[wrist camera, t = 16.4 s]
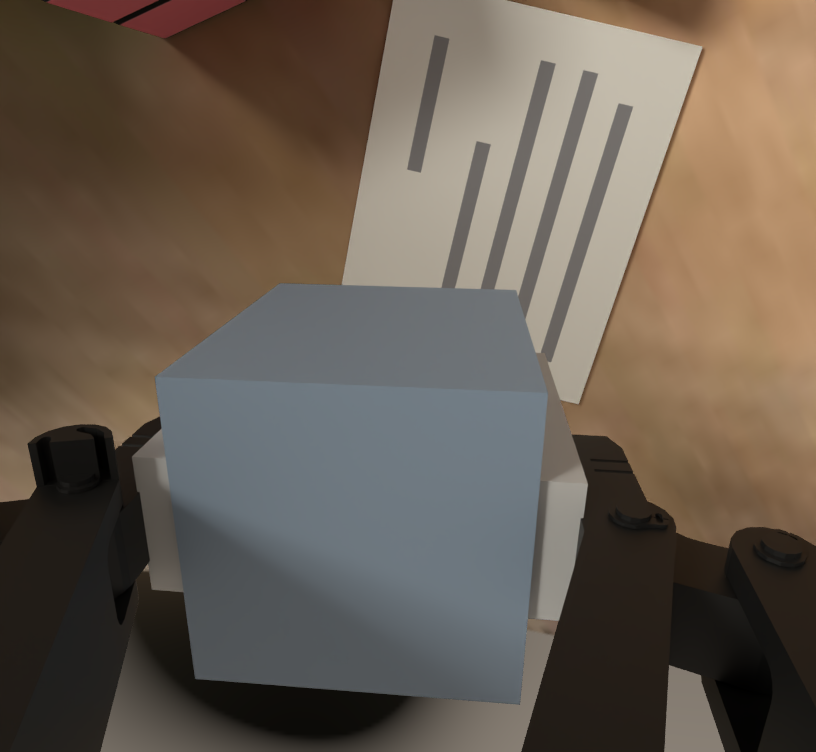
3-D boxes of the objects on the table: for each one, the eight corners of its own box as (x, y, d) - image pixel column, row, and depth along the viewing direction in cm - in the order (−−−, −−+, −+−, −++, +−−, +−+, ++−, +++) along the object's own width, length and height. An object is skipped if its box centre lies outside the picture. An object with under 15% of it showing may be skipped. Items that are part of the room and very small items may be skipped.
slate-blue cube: (280, 283, 16) (154, 377, 10) (516, 290, 16) (548, 392, 9) (292, 488, 19) (195, 678, 12) (501, 500, 18) (519, 704, 12)
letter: (331, 346, 35) (330, 347, 35) (398, -25, 29) (397, -26, 29) (578, 402, 36) (578, 404, 35) (701, 47, 29) (702, 46, 29)
